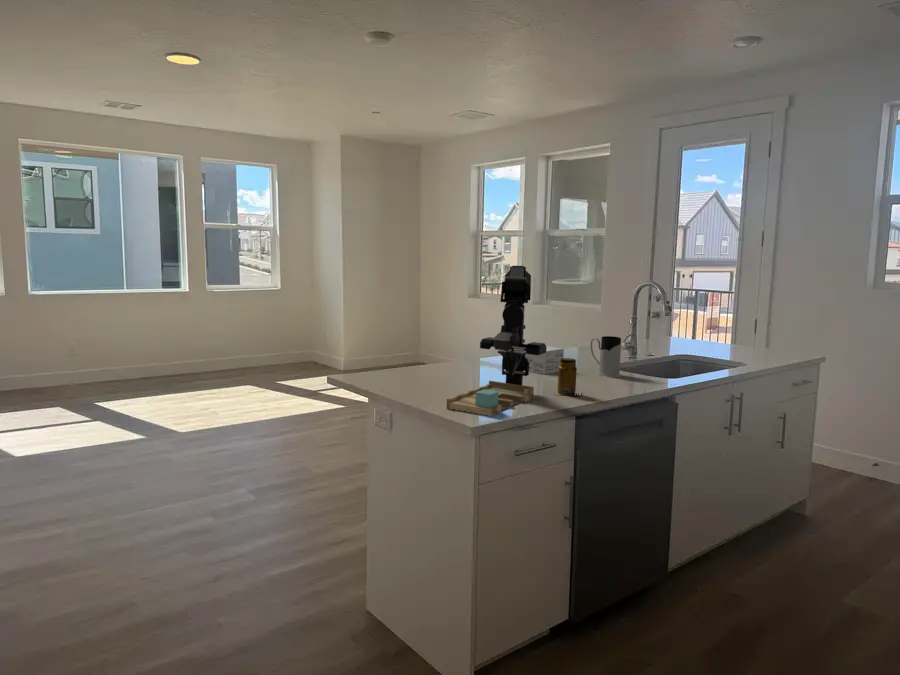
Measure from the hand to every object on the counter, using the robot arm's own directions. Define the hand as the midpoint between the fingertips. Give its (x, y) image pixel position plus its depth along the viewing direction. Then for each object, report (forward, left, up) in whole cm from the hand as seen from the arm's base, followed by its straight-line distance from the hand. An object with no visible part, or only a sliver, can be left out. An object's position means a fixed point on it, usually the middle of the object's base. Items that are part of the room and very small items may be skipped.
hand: (511, 375), depth 185 cm
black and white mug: (-83, +1, -12) cm, 84 cm away
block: (0, -8, -10) cm, 13 cm away
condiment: (-39, +3, -12) cm, 41 cm away
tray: (-10, -11, -12) cm, 19 cm away
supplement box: (-74, -24, -12) cm, 79 cm away
